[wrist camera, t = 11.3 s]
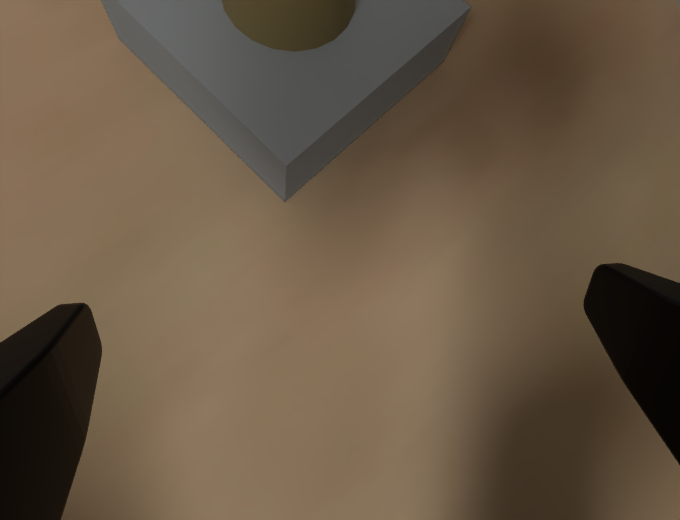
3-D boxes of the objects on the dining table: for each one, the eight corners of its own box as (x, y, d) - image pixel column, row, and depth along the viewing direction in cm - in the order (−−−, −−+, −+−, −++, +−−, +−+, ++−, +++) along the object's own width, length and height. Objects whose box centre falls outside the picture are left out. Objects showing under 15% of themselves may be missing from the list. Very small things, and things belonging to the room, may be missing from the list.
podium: (443, 61, 26) (471, 6, 22) (284, 201, 23) (286, 165, 19) (290, -78, 27) (291, -154, 23) (118, 38, 24) (88, -27, 20)
